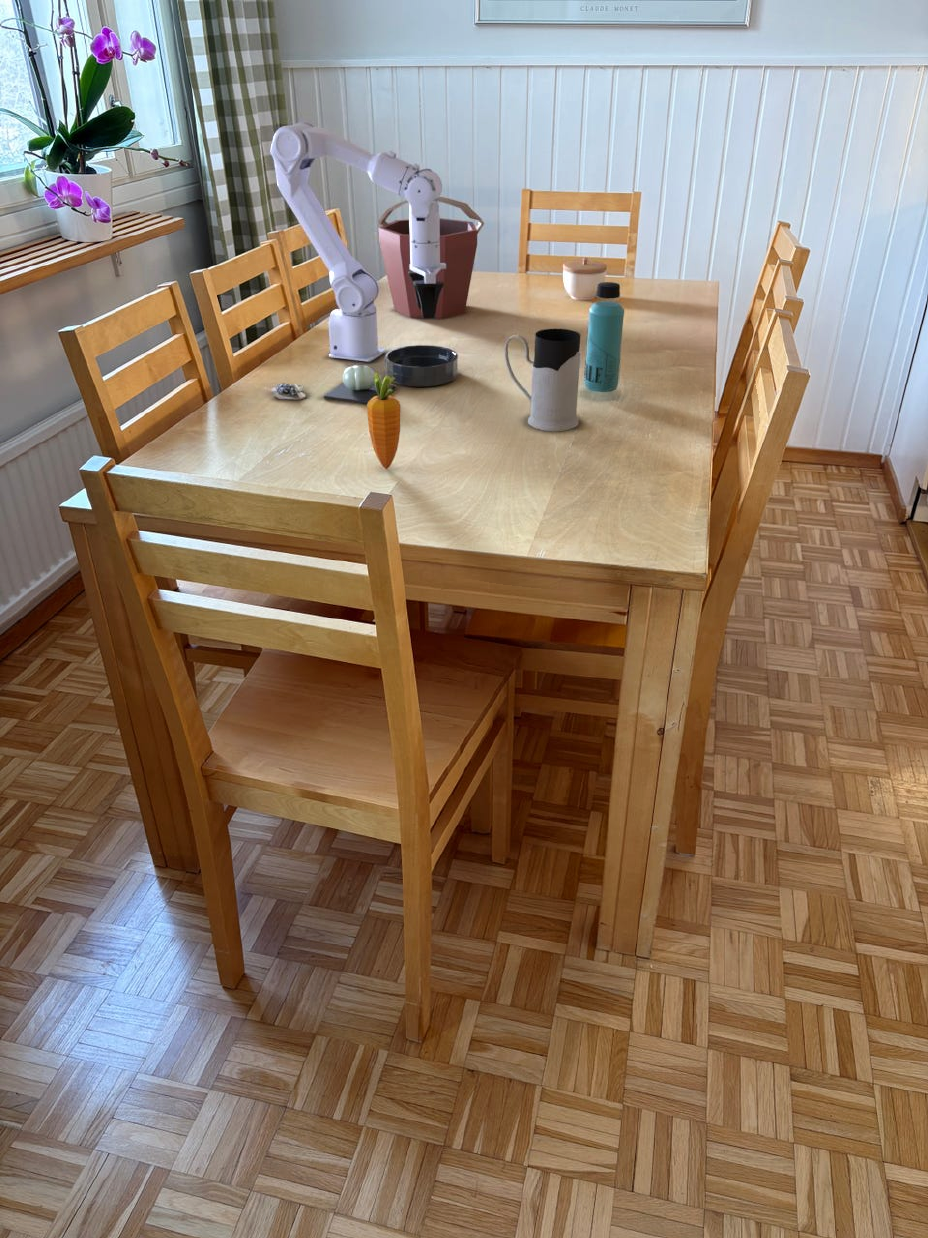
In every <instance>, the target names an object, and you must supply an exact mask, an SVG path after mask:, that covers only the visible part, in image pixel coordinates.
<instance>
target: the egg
mask: <svg viewBox="0 0 928 1238" xmlns="http://www.w3.org/2000/svg"><path fill="white" fill-rule="evenodd" d="M375 374H376V372H375V370H374V369H373V368H372V367H371V366H369V365H364V364H363V365H352V366H348V367H347V368H346V369H345V370H344V371H343V373H342V383H343V382H344V384H345V386H346V387H347V388H348V389H350V390H367V389H370V388H372V387H373V386H374V384H375V377H374V375H375Z"/></svg>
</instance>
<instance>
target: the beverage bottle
mask: <svg viewBox="0 0 928 1238" xmlns="http://www.w3.org/2000/svg"><path fill="white" fill-rule="evenodd" d="M595 297H597V298H600V299H605V300H599V301H596V302H594V303H593V304H592V305H591V306H590V307H589V310H588V325H587V327H588V328H587V329H586V331H587V332H586V333H587V334H586V335H587V336H586V337H587V338H586V353H585V361H584V366H585V367H584V374H583V384H584V388H586V389H587V390H589V391H592V392H597V393H610V392H614V391H616V390H617V389H618V386H619V379H620V372H621V370H620V367H621V356H622V352H623V351H622V338H623V327H624V318H625V317H624V316H625V313H626V312H625V308H624V307H623V306H622V305H621V303H619V302H618V301H615V300H611V299H617V298H620V297H621V285H620V283H617V282H614V281H613V282H612V281H605V282H602V283H599V284H598V286H597V292H596V296H595ZM607 299H608V300H607ZM609 299H610V300H609Z"/></svg>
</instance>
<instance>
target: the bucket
mask: <svg viewBox="0 0 928 1238" xmlns="http://www.w3.org/2000/svg"><path fill="white" fill-rule="evenodd" d="M437 200H439V203H443V204H446V205H449V206H452V207H456V208H458V209H460V210H461V211H462V212H463V213H464V214H465V215H466V216H467V217H468V218H469V219H472V220H476V221H477V223H478V224H477V225H476V226H475V224H474V222H473V221H467V220H460V219H451V218H443V217H442V218H441V217H440V263H445V264H446V269H441V270H440V271H439V272H438V273H437V274H436V282H441V281H443V283H444V285H443V288H442V290H441V292H440V294H439V297H438V302H437V307H436V313H435V317H434V318H433V319H438V320H441V319H446V318H449V317H453V316H458V315H461V314H465V313H466V309H467V302H468V297H469V291H470V286H471V282H472V281H471V280H472V275H473V269H474V266H475V265H474V264H475V258H476V253H477V248H478V234H479V233H480V231H481V229H482V228H483V227H484V225H485V222H484V220H483V219H482V218H481V216H480V215H479V214H478V213H477V212H475V211H474V210H473V209H472V208H471V207H470V205H468V203H467V202H463V201H459V200H455V199H452V198H448V197H445V196H444V197H443V196H439V198H438V199H437ZM437 200H436V201H437ZM436 201H435V202H436ZM405 204H409V202H408V201H407V199H405V200H403V201H400V202H398V203H396V204H395V205H393V206H391V207H389V208H387V209H386V210H385V211H384V213H383V214H382V215H381V217H380V218H379V219H378V225H379V226H380V227H378V243H379V247H380V251H381V256H382V260H383V265H384V270H385V273H386V278H387V282H388V287H389V291H390V295H391V300H392V303H393V304H392V305H393V308H394V311H395V312H397V313H400V314H401V315H404V316H406V317H407V318H410V319H424V318H423V315H422V310H421V309H419V307H418V304H417V299H416V294H415V289H414V285H413V282H412V279H411V277H410V275H409V273H408V272H409V271H411V270H410V264H411V262H410V224H409V218H408V219H397V220H393V221H391V222H388V221H386V220H388V218H389V216H390V215H391V214H392V213H393V212H394V210H396V209H398V208H400V207H401V206H403V205H405Z"/></svg>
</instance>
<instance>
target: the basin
mask: <svg viewBox="0 0 928 1238" xmlns="http://www.w3.org/2000/svg"><path fill="white" fill-rule="evenodd" d="M384 370H385V371H384V374H385V376H390V379H391V378H392V377H394V378H395V380H394V381H393V382H392V383H395V384H398V385H401V386H406V387H413V388H415V387H416V388H429V387H434V386H435V387H436V386H440V385H441V386H442V385H444V384H447V383H450V382H452V381H454V380H455V379H457V377H458V375H459V354H458V353H457V352H456V351H455V350H452V349H450V348H448V347H444V346H439V345H429V344H428V345H426V344H421V345H420V344H418V345H417V344H416V345H407V346H402V347H401V346H400V347H397V348H394V349H391V350H389V351H388V352H386V353H385V355H384Z"/></svg>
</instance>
